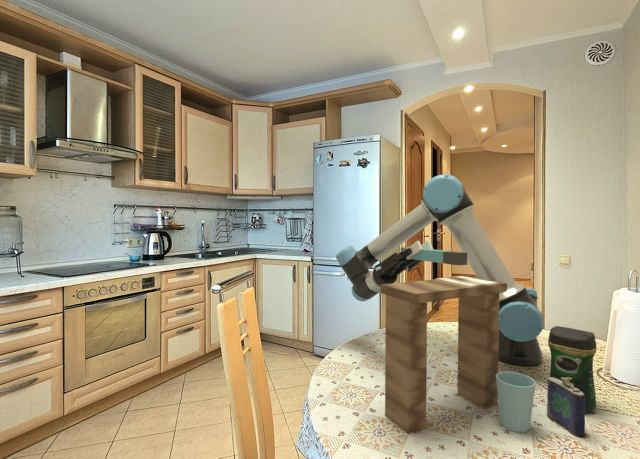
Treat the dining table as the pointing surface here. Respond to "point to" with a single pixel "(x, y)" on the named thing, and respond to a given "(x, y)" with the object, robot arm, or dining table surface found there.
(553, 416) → the flask
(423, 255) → the teal bar
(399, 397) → the shelf
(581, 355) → the coffee jar
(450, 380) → the dining table surface
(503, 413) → the cup
